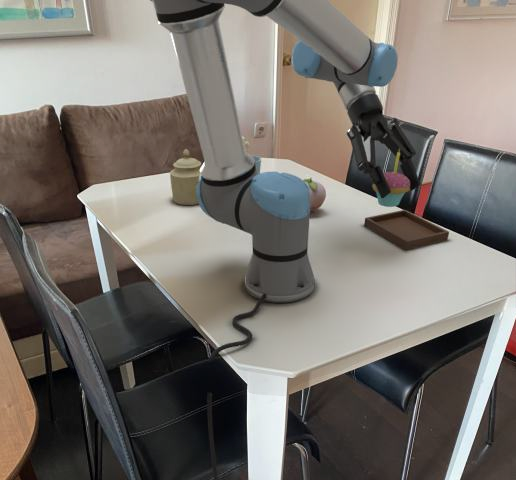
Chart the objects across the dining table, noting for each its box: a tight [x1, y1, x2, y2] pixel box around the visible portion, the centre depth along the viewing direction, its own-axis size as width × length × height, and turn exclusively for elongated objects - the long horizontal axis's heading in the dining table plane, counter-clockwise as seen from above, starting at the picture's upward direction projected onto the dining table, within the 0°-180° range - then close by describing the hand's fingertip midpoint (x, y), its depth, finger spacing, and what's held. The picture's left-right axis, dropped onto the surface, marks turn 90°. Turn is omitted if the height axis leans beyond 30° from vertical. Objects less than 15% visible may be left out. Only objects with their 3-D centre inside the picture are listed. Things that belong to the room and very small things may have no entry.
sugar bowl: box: [169, 148, 202, 206], centre depth 153 cm, size 15×11×15 cm
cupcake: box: [372, 149, 411, 208], centre depth 115 cm, size 9×8×12 cm
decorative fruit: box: [302, 177, 327, 213], centre depth 144 cm, size 9×8×10 cm
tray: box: [363, 209, 450, 251], centre depth 133 cm, size 18×14×2 cm
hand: (401, 191), depth 114 cm, fingers closed on cupcake, 8 cm apart
